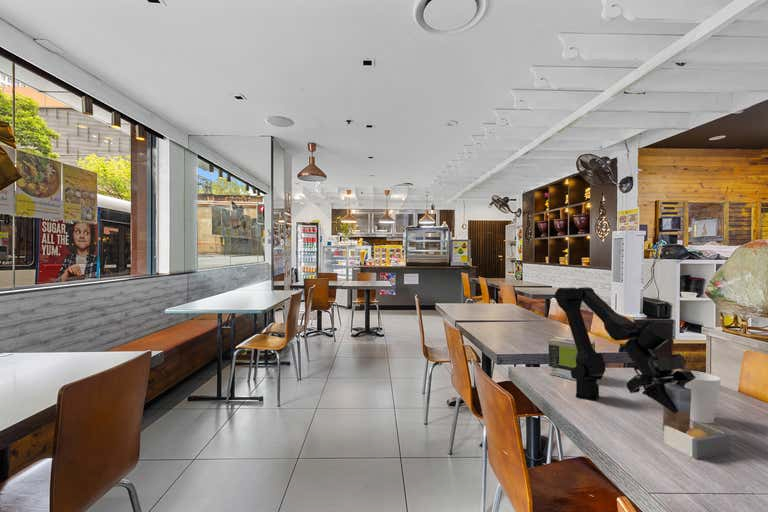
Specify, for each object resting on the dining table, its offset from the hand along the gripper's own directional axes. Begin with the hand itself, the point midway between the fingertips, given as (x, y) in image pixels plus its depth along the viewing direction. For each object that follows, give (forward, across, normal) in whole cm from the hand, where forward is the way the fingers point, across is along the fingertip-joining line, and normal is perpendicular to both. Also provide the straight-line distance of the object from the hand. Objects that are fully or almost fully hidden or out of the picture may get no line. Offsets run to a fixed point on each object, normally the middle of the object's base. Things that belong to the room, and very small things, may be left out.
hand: (682, 411), depth 97 cm
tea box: (-31, +11, +43) cm, 54 cm away
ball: (+6, 0, +1) cm, 7 cm away
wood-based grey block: (+3, 0, +6) cm, 7 cm away
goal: (+8, 0, +3) cm, 9 cm away
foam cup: (-1, +19, +12) cm, 23 cm away
